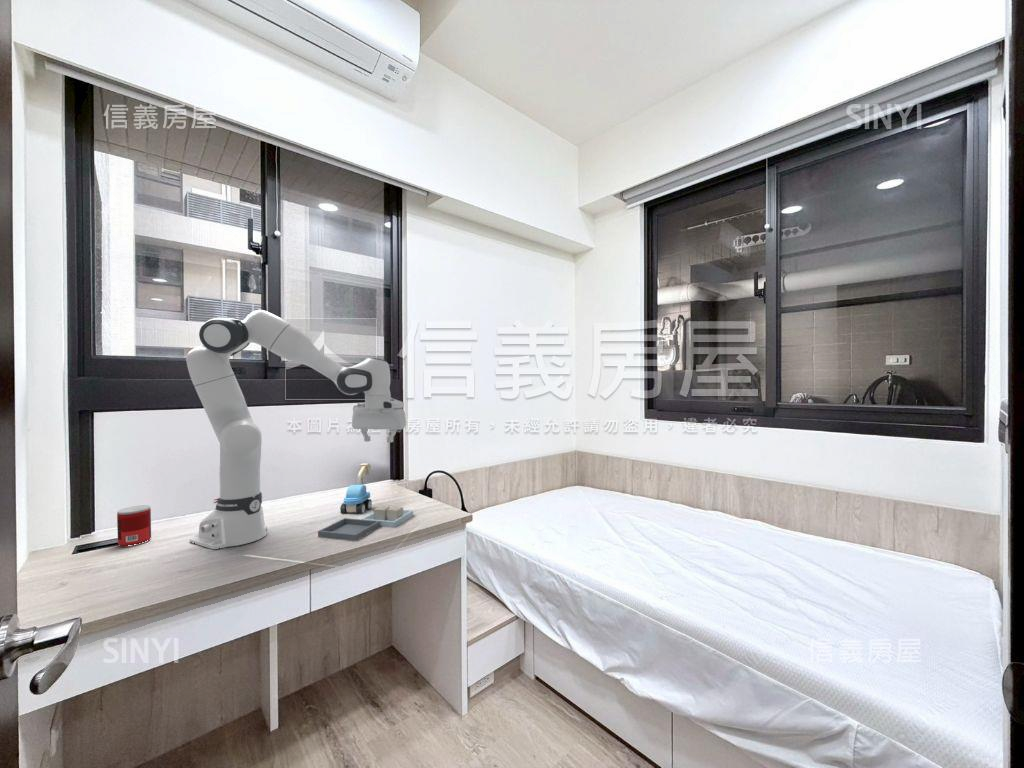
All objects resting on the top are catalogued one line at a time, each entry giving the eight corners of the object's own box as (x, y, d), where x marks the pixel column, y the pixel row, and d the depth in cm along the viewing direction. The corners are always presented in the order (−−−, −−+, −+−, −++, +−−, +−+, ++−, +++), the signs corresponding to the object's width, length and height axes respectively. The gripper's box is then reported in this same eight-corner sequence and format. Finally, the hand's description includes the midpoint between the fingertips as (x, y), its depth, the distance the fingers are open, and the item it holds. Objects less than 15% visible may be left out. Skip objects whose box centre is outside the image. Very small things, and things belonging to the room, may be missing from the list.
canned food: (157, 539, 136) (156, 505, 136) (129, 548, 129) (128, 513, 129) (140, 537, 138) (139, 504, 138) (111, 546, 131) (110, 511, 131)
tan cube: (374, 520, 150) (373, 509, 149) (379, 517, 153) (379, 506, 153) (384, 521, 149) (384, 510, 149) (389, 517, 153) (389, 506, 153)
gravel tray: (318, 538, 135) (317, 531, 135) (344, 524, 147) (344, 518, 147) (355, 542, 131) (355, 534, 131) (379, 528, 144) (379, 521, 144)
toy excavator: (379, 503, 173) (378, 462, 173) (360, 516, 157) (359, 471, 156) (359, 503, 174) (358, 462, 174) (339, 516, 157) (338, 470, 157)
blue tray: (361, 525, 146) (360, 519, 146) (382, 514, 159) (382, 507, 159) (394, 529, 142) (394, 522, 142) (413, 516, 155) (413, 510, 155)
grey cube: (387, 520, 149) (387, 509, 149) (393, 517, 153) (393, 506, 153) (397, 521, 148) (397, 510, 148) (403, 518, 152) (403, 507, 152)
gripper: (347, 403, 149) (348, 442, 149) (398, 403, 143) (399, 443, 143) (358, 402, 155) (359, 439, 155) (407, 402, 149) (408, 441, 149)
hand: (378, 441), depth 149 cm, fingers open, 8 cm apart
